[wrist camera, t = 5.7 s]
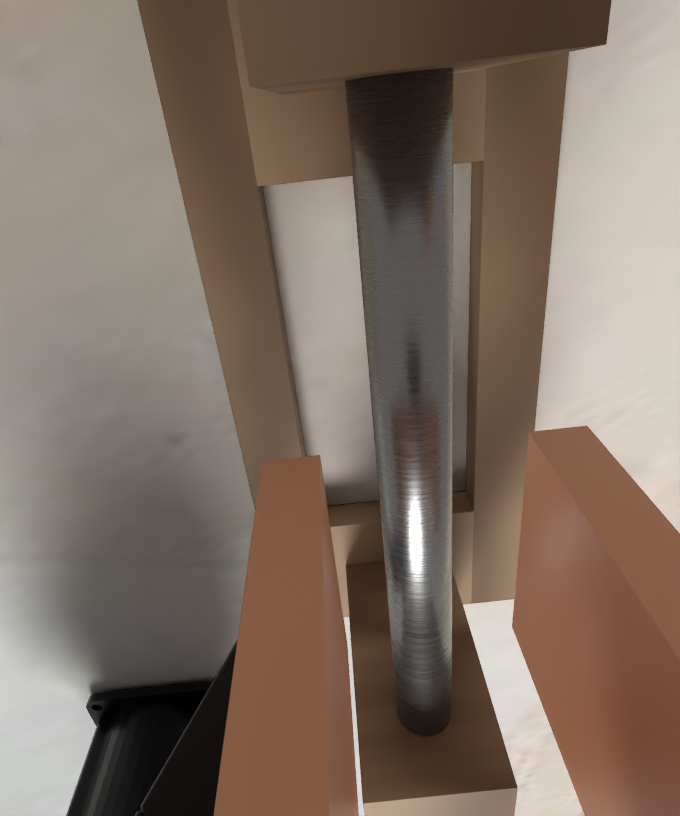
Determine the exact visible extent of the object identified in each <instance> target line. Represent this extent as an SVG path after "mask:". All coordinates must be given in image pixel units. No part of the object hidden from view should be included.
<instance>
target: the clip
mask: <svg viewBox="0 0 680 816" xmlns="http://www.w3.org/2000/svg"><path fill="white" fill-rule="evenodd" d="M512 627H513V630H514V632H515V635H516V638H517V640H518V643H519V645H520V648H521V651H522V653H523V656H524V658H525V661H526V664H527V666H528V669H529V671H530V674H531V677H532V679H533V682H534V684H535V687H536V690H537V692H538V695H539V697H540V700H541V703H542V705H543V708H544V710H545V713H546V716H547V718H548V721H549V723H550V726H551V729H552V731H553V734H554V736H555V739H556V742H557V744H558V747H559V749H560V752H561V755H562V757H563V760H564V762H565V765H566V768H567V770H568V773H569V775H570V778H571V781H572V783H573V786H574V788H575V791H576V794H577V796H578V799H579V801H580V804H581V807H582V809H583V812H584V814H585V816H680V534H679V532H678V531H677V530H676V529H675V528H674V527H673V525H672V524H671V523H670V522H669V521H668V520H667V518H666V517H665V516H664V515H663V514H662V513H661V511H660V510H659V509H658V508H657V507H656V506H655V504H654V503H653V502H652V501H651V500H650V499H649V497H648V496H647V495H646V494H645V493H644V492H643V490H642V489H641V488H640V487H639V486H638V485H637V483H636V482H635V481H634V480H633V479H632V478H631V476H630V475H629V474H628V473H627V472H626V471H625V469H624V468H623V467H622V466H621V465H620V464H619V462H618V461H617V460H616V459H615V458H614V457H613V455H612V454H611V453H610V452H609V451H608V450H607V448H606V447H605V446H604V445H603V444H602V443H601V441H600V440H599V439H598V438H597V437H596V436H595V434H594V433H593V432H592V431H591V430H590V429H589V427H588V426H581V427H572V428H563V429H553V430H544V431H535V432H529V435H528V447H527V459H526V471H525V483H524V494H523V506H522V518H521V530H520V541H519V553H518V565H517V577H516V588H515V600H514V612H513V624H512ZM214 816H359V814H358V799H357V784H356V769H355V754H354V739H353V724H352V709H351V694H350V679H349V664H348V649H347V640H346V633H345V626H344V619H343V612H342V605H341V598H340V591H339V584H338V577H337V570H336V563H335V556H334V549H333V543H332V536H331V529H330V522H329V515H328V508H327V501H326V494H325V487H324V480H323V473H322V466H321V459H320V455H317V456H308V457H299V458H290V459H281V460H272V461H263V462H262V466H261V474H260V481H259V488H258V495H257V503H256V510H255V517H254V525H253V532H252V539H251V546H250V554H249V561H248V568H247V575H246V583H245V590H244V597H243V605H242V612H241V619H240V626H239V634H238V641H237V648H236V656H235V663H234V670H233V677H232V685H231V692H230V699H229V707H228V714H227V721H226V728H225V736H224V743H223V750H222V758H221V765H220V772H219V779H218V787H217V794H216V801H215V809H214Z"/></svg>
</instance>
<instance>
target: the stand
mask: <svg viewBox="0 0 680 816" xmlns="http://www.w3.org/2000/svg"><path fill="white" fill-rule="evenodd" d="M137 1H138V6H139V10H140V14H141V19H142V23H143V27H144V32H145V36H146V40H147V45H148V49H149V53H150V58H151V62H152V66H153V71H154V75H155V79H156V83H157V88H158V92H159V96H160V101H161V105H162V109H163V114H164V118H165V122H166V127H167V131H168V135H169V140H170V144H171V148H172V153H173V157H174V161H175V166H176V170H177V174H178V179H179V183H180V187H181V192H182V196H183V200H184V205H185V209H186V213H187V218H188V222H189V226H190V231H191V235H192V239H193V244H194V248H195V252H196V256H197V261H198V265H199V269H200V274H201V278H202V282H203V287H204V291H205V295H206V300H207V304H208V308H209V313H210V317H211V321H212V326H213V330H214V334H215V339H216V343H217V347H218V352H219V356H220V360H221V365H222V369H223V373H224V378H225V382H226V386H227V391H228V395H229V399H230V404H231V408H232V412H233V417H234V421H235V425H236V429H237V434H238V438H239V442H240V447H241V451H242V455H243V460H244V464H245V468H246V473H247V477H248V481H249V486H250V490H251V494H252V499H253V503H254V507H255V510H256V503H257V495H258V488H259V481H260V474H261V466H262V462H263V461H272V460H281V459H290V458H299V457H306V456H305V450H304V444H303V438H302V432H301V425H300V419H299V413H298V407H297V401H296V394H295V388H294V382H293V376H292V370H291V363H290V357H289V351H288V345H287V338H286V332H285V326H284V320H283V314H282V307H281V301H280V295H279V289H278V283H277V276H276V270H275V264H274V258H273V252H272V245H271V239H270V233H269V227H268V221H267V214H266V208H265V202H264V196H263V190H262V186H266V185H275V184H284V183H293V182H301V181H310V180H319V179H327V178H336V177H345V176H353V185H354V197H355V209H356V221H357V233H358V245H359V257H360V270H361V282H362V294H363V306H364V318H365V330H366V342H367V354H368V366H369V378H370V390H371V403H372V415H373V427H374V439H375V451H376V463H377V475H378V487H379V499H380V501H373V502H364V503H354V504H345V505H336V506H327V508H328V515H329V522H330V529H331V536H332V543H333V549H334V556H335V563H336V570H337V577H338V584H339V591H340V598H341V605H342V612H343V617H349V618H350V632H351V646H352V659H353V673H354V687H355V701H356V714H357V728H358V742H359V756H360V769H361V783H362V797H363V807H364V813H365V816H514V813H515V804H516V796H517V784H516V781H515V778H514V774H513V771H512V768H511V764H510V761H509V758H508V754H507V751H506V748H505V744H504V741H503V738H502V734H501V731H500V728H499V724H498V721H497V718H496V714H495V711H494V708H493V704H492V701H491V698H490V694H489V691H488V688H487V684H486V681H485V678H484V674H483V671H482V668H481V664H480V661H479V658H478V654H477V651H476V648H475V644H474V641H473V638H472V634H471V631H470V628H469V624H468V621H467V618H466V614H465V611H464V608H463V604H471V603H481V602H490V601H500V600H509V599H515V588H516V577H517V565H518V553H519V541H520V530H521V518H522V506H523V494H524V483H525V471H526V459H527V447H528V435H529V432H534V428H535V417H536V406H537V395H538V384H539V373H540V362H541V351H542V340H543V330H544V319H545V308H546V297H547V286H548V275H549V264H550V253H551V242H552V231H553V220H554V209H555V198H556V187H557V176H558V165H559V154H560V143H561V132H562V121H563V110H564V99H565V88H566V77H567V66H568V56H569V52H570V51H575V50H580V49H585V48H590V47H595V46H600V45H605V44H606V41H607V33H608V24H609V16H610V7H611V0H137ZM467 162H472V186H471V240H470V295H469V349H468V404H467V458H466V491H465V492H456V493H452V405H453V164H458V163H467Z"/></svg>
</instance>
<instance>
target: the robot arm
mask: <svg viewBox="0 0 680 816" xmlns="http://www.w3.org/2000/svg"><path fill="white" fill-rule="evenodd" d="M237 641H238V639H237ZM237 641H236V643H235V645H234V646H233V648H232V650H231V651H230V653H229V655H228V657H227V658H226V660H225V662H224V663H223V665H222V667H221V669H220V670H219V672H218V674H217V675H216V677H215V679H214V681H213V682H200V683H191V684H181V685H172V686H162V687H153V688H143V689H134V690H124V691H115V692H105V693H96V694H93V695H91V696H90V698H89V700H88V703H87V705H86V708H87V710H88V712H89V714H90V716H91V717H92V719H93V721H94V723H95V724H96V726H97V728H96V731H95V734H94V736H93V739H92V742H91V745H90V748H89V751H88V754H87V757H86V760H85V763H84V765H83V768H82V771H81V774H80V777H79V780H78V783H77V786H76V789H75V792H74V794H73V797H72V800H71V803H70V806H69V809H68V812H67V815H66V816H214V809H215V801H216V794H217V787H218V779H219V772H220V765H221V758H222V750H223V743H224V736H225V728H226V721H227V714H228V707H229V699H230V692H231V685H232V677H233V670H234V663H235V656H236V648H237Z"/></svg>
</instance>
